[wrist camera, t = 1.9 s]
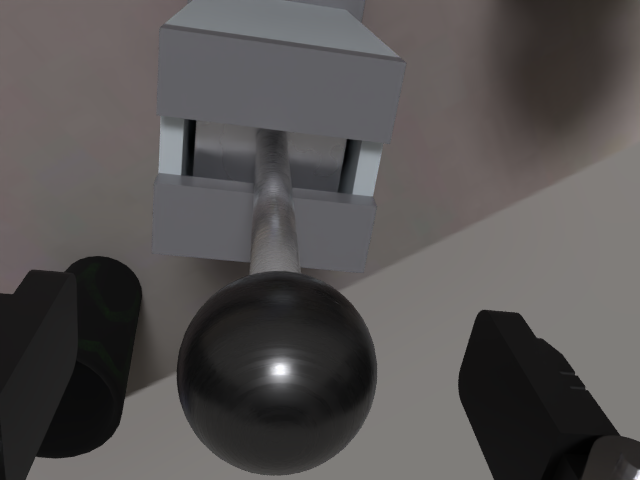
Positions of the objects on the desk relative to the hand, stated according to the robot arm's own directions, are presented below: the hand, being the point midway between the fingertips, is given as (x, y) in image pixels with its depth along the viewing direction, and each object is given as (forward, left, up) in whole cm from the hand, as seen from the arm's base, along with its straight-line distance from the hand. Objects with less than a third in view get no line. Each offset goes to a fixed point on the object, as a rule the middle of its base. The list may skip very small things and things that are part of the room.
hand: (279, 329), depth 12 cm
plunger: (0, 0, -14) cm, 14 cm away
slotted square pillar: (0, 0, -28) cm, 28 cm away
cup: (+10, +17, -28) cm, 35 cm away
